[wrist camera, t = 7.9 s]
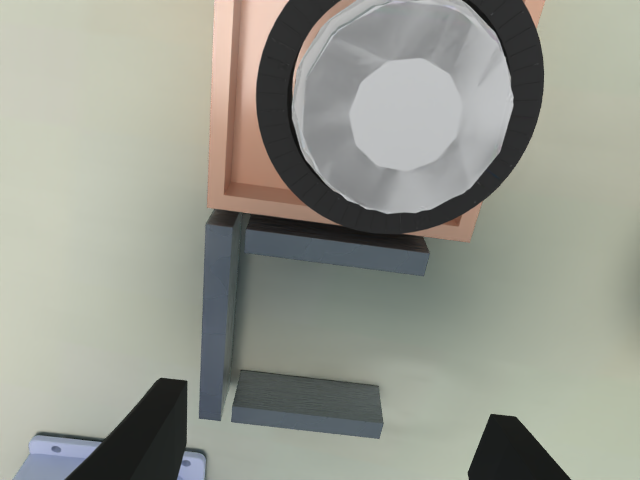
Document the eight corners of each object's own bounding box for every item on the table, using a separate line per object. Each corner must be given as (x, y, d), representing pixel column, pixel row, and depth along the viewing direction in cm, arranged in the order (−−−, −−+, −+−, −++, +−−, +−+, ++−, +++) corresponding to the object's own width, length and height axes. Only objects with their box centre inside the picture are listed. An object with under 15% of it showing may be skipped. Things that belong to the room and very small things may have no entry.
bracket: (210, 381, 24) (198, 418, 22) (218, 200, 20) (205, 224, 18) (374, 400, 25) (379, 438, 22) (419, 227, 20) (429, 253, 18)
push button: (389, 182, 19) (444, 339, 10) (262, 138, 18) (198, 264, 9) (466, 7, 16) (637, 10, 7) (319, -53, 16) (306, -134, 7)
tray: (217, 191, 20) (207, 207, 18) (232, -147, 15) (220, -166, 13) (458, 223, 20) (469, 242, 18) (551, -93, 15) (578, -105, 14)
